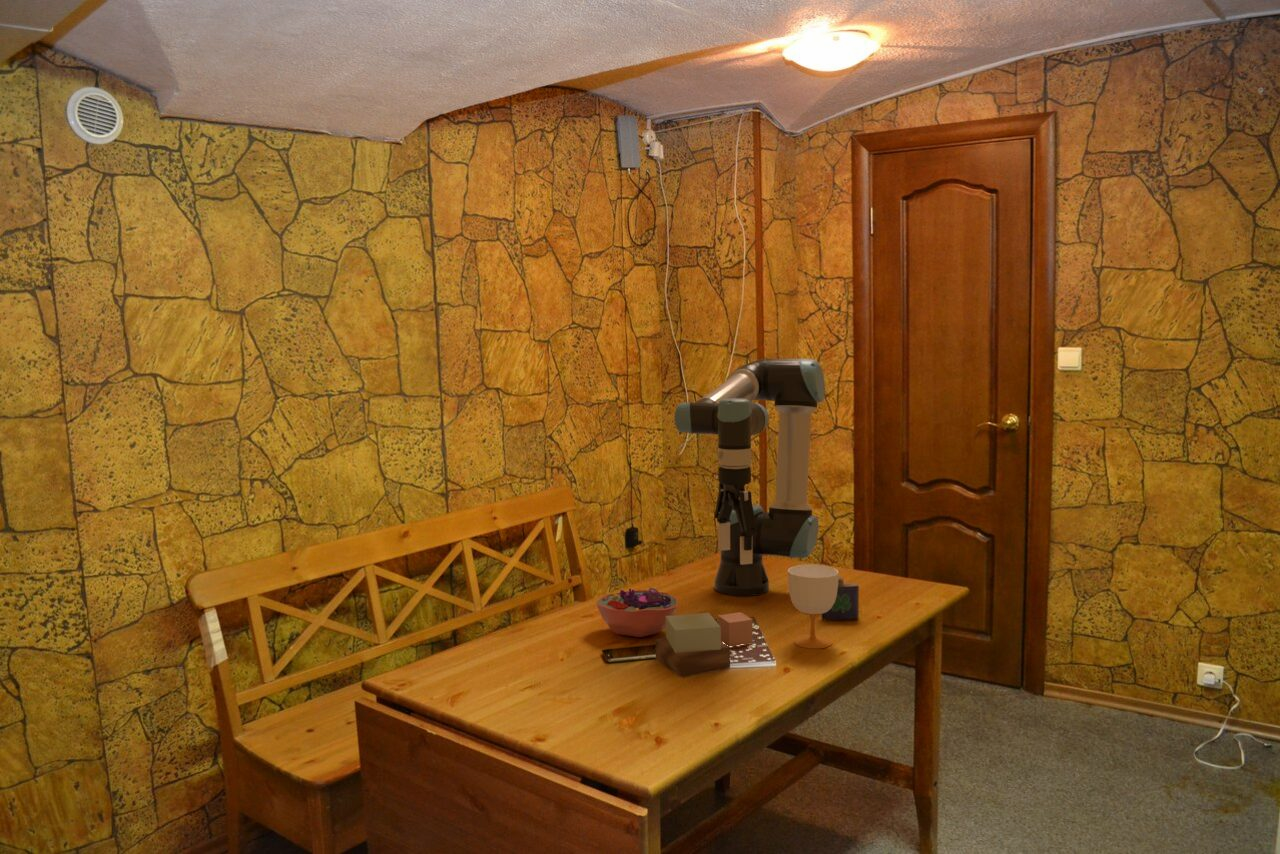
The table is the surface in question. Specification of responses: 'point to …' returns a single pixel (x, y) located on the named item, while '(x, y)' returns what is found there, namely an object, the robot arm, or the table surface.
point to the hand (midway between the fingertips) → (734, 556)
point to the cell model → (637, 611)
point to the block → (736, 629)
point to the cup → (813, 597)
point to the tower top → (693, 632)
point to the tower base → (692, 659)
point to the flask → (844, 603)
